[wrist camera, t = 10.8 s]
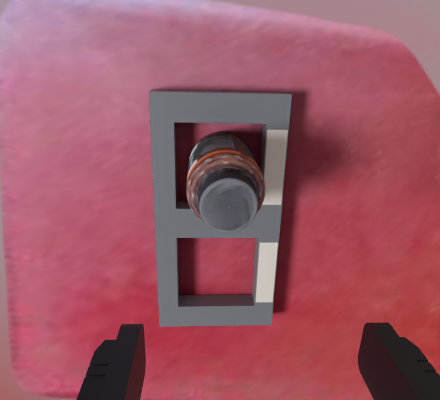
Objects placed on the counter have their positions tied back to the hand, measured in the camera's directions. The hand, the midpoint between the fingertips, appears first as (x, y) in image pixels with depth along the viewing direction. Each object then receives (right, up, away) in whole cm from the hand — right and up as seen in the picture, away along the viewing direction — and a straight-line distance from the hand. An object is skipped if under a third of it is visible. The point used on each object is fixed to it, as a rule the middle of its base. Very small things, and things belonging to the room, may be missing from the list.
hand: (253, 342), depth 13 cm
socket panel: (-2, +4, +23) cm, 24 cm away
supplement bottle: (-1, +9, +22) cm, 23 cm away
